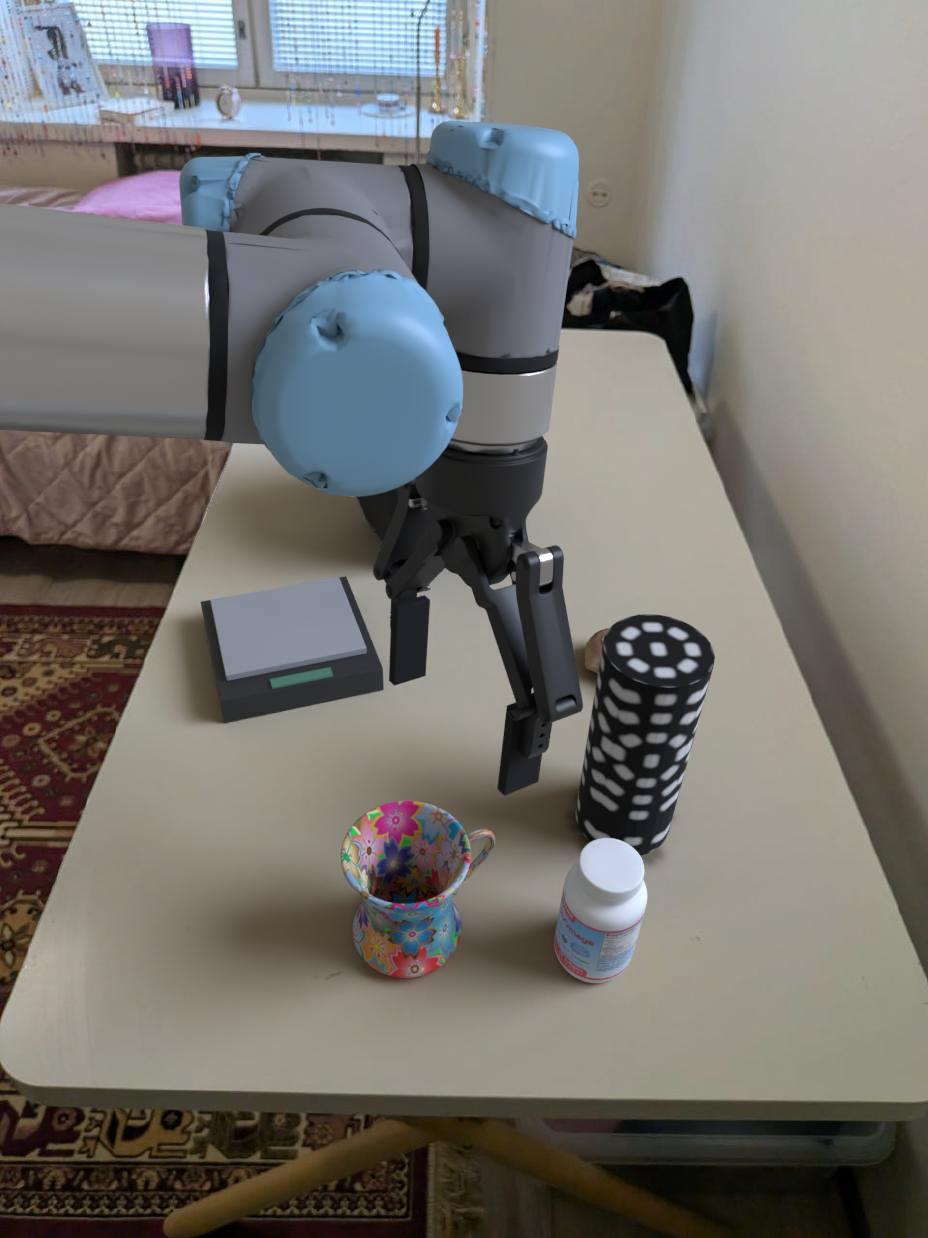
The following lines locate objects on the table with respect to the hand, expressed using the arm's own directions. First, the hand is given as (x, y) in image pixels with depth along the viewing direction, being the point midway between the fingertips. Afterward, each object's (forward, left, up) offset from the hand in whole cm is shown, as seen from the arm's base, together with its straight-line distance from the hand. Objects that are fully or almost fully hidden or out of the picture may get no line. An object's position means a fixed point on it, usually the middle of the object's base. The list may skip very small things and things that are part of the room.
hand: (458, 728), depth 64 cm
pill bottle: (+9, -8, -20) cm, 23 cm away
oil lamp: (+25, +20, -20) cm, 37 cm away
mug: (-3, -2, -20) cm, 20 cm away
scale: (-7, +33, -19) cm, 39 cm away
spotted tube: (+17, +3, -20) cm, 26 cm away
